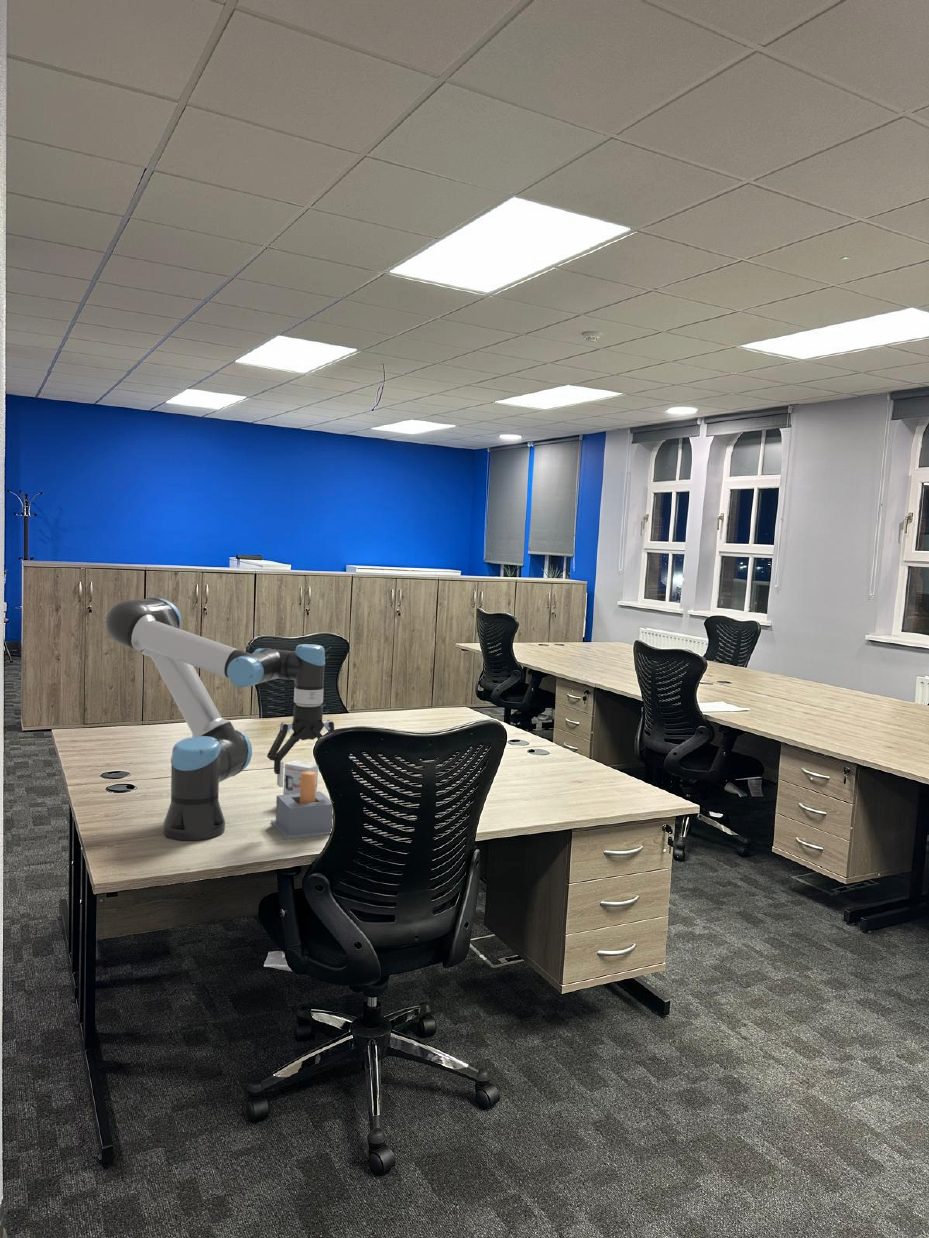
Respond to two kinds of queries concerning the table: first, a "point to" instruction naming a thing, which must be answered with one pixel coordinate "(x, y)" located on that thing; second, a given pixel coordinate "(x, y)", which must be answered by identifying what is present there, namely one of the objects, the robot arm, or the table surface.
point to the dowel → (307, 787)
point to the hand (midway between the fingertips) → (305, 783)
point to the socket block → (303, 816)
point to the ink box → (296, 775)
